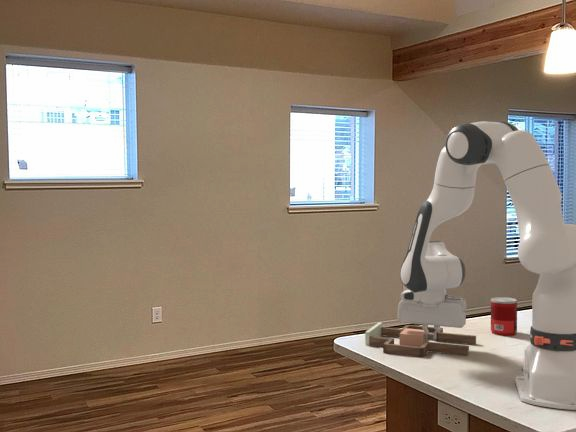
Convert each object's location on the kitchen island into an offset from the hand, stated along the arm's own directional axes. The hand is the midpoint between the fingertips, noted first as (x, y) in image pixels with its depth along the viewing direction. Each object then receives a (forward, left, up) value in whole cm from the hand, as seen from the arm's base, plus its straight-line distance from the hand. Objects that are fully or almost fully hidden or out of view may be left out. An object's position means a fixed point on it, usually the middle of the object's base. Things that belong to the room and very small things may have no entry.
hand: (431, 339), depth 189 cm
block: (-1, +5, -2) cm, 6 cm away
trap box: (0, +3, -2) cm, 4 cm away
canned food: (+23, -18, -2) cm, 29 cm away
